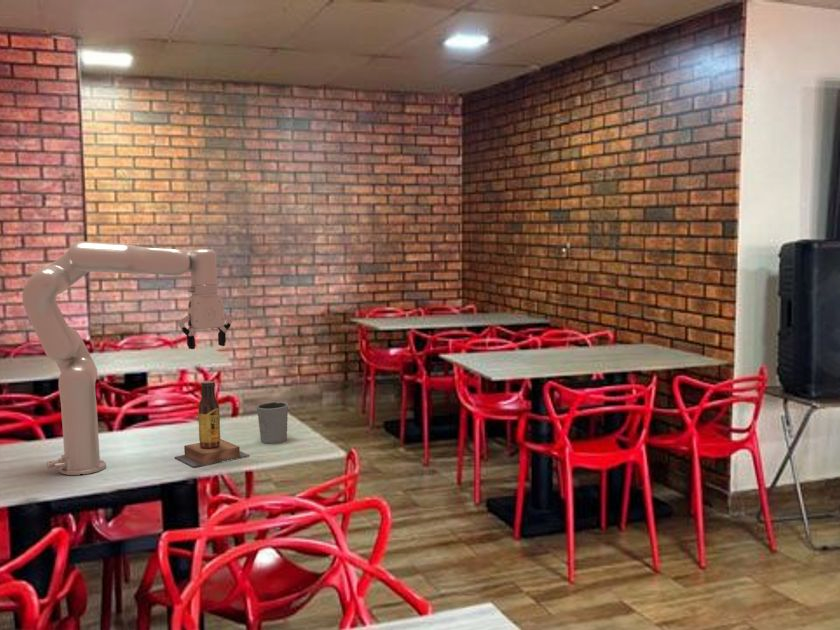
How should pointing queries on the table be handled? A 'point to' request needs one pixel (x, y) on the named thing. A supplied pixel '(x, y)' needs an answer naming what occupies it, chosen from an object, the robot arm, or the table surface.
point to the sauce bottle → (209, 417)
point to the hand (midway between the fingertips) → (206, 347)
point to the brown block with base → (210, 454)
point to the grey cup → (273, 422)
